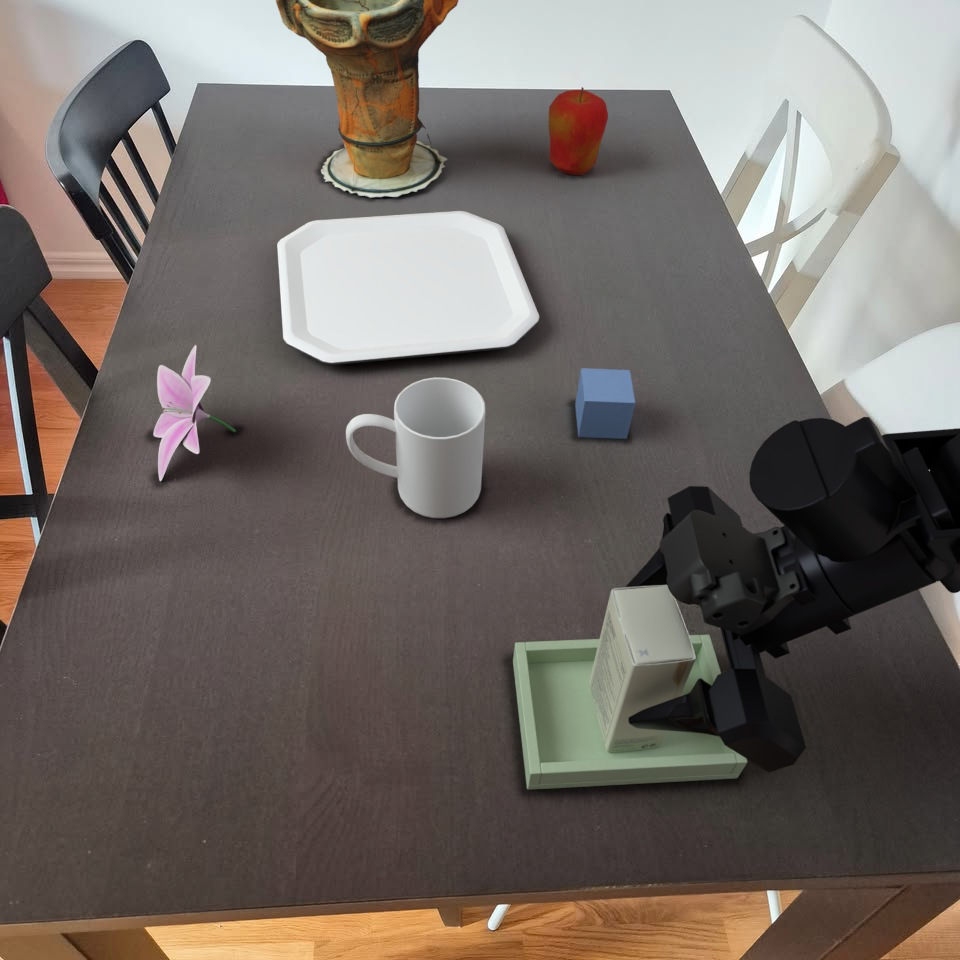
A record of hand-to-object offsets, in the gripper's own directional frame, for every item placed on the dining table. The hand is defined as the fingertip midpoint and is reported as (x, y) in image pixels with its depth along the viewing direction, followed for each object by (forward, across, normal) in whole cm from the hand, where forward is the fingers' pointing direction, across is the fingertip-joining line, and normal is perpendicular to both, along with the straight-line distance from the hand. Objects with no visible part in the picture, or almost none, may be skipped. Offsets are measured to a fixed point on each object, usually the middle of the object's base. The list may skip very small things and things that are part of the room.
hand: (623, 661), depth 58 cm
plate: (+19, -55, -7) cm, 59 cm away
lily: (+33, -28, -21) cm, 48 cm away
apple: (+3, -88, +9) cm, 89 cm away
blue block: (+4, -33, +8) cm, 34 cm away
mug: (+17, -23, -5) cm, 29 cm away
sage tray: (+5, 0, +7) cm, 8 cm away
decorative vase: (+23, -86, -11) cm, 90 cm away
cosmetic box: (+4, 0, +6) cm, 8 cm away
